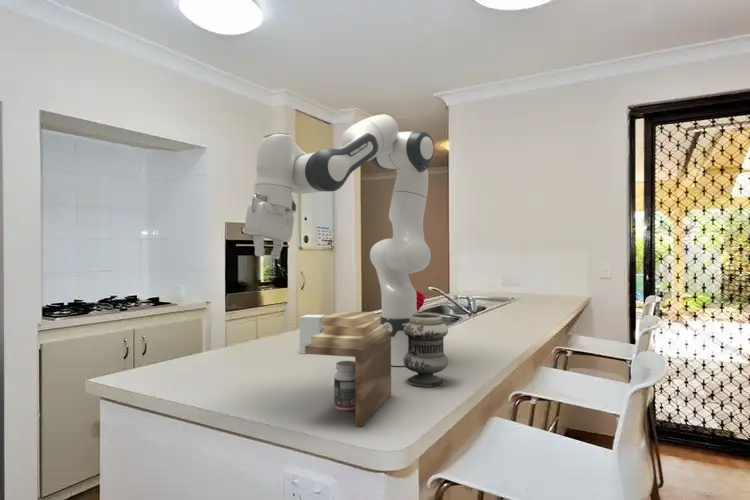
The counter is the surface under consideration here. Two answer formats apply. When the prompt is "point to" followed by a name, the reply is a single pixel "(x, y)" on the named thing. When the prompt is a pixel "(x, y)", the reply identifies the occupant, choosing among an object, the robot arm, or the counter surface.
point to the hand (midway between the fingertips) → (267, 257)
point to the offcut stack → (349, 329)
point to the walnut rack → (366, 373)
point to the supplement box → (309, 329)
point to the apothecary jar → (425, 349)
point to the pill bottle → (345, 386)
